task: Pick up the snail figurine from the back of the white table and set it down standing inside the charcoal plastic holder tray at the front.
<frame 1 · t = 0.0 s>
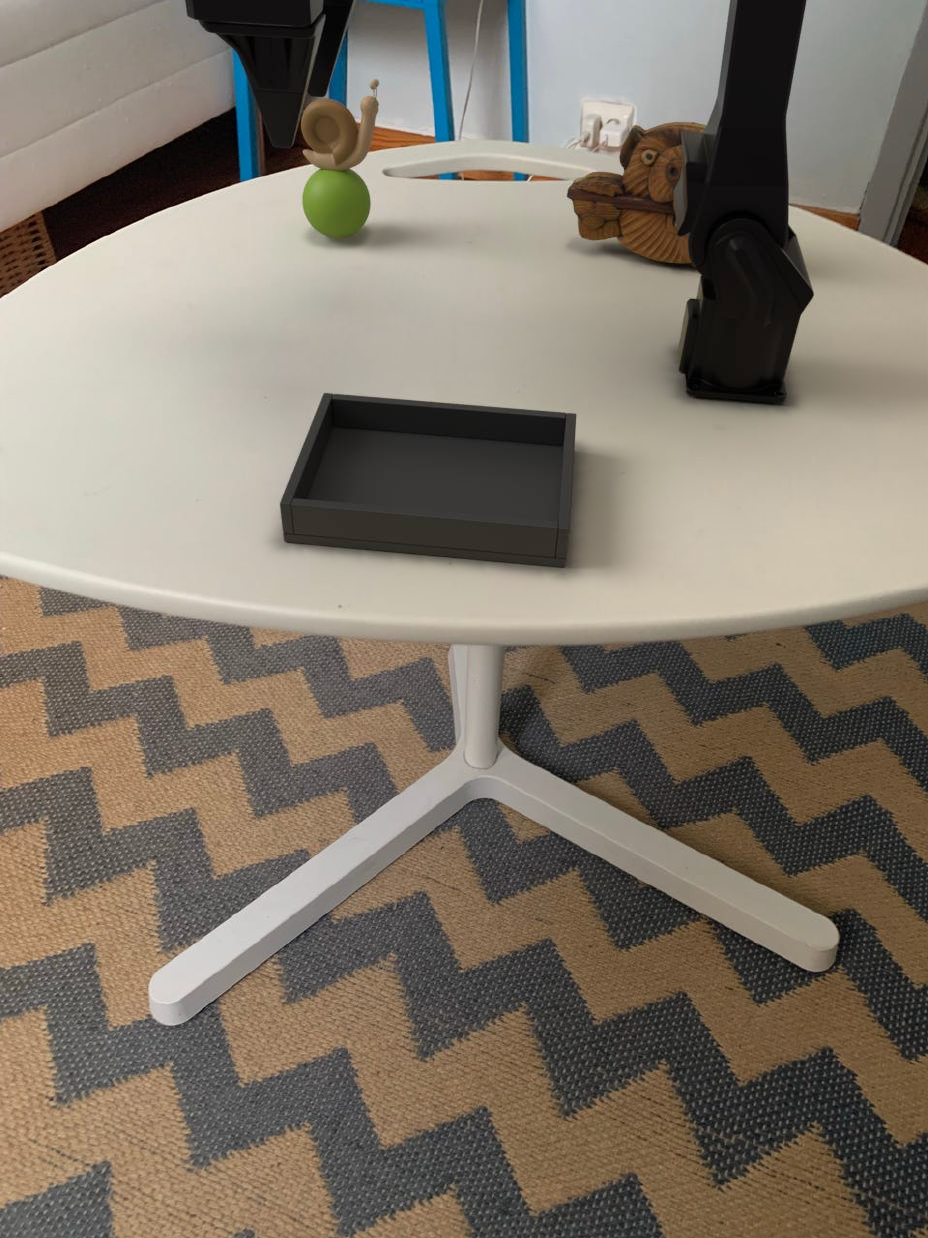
hand: (300, 119, 62), 15 cm above the table, tool pointing down, fingers open, 9 cm apart
wooden carving: (663, 261, 84), on the table
snail figurine: (344, 238, 86), on the table
holder: (436, 493, 60), on the table
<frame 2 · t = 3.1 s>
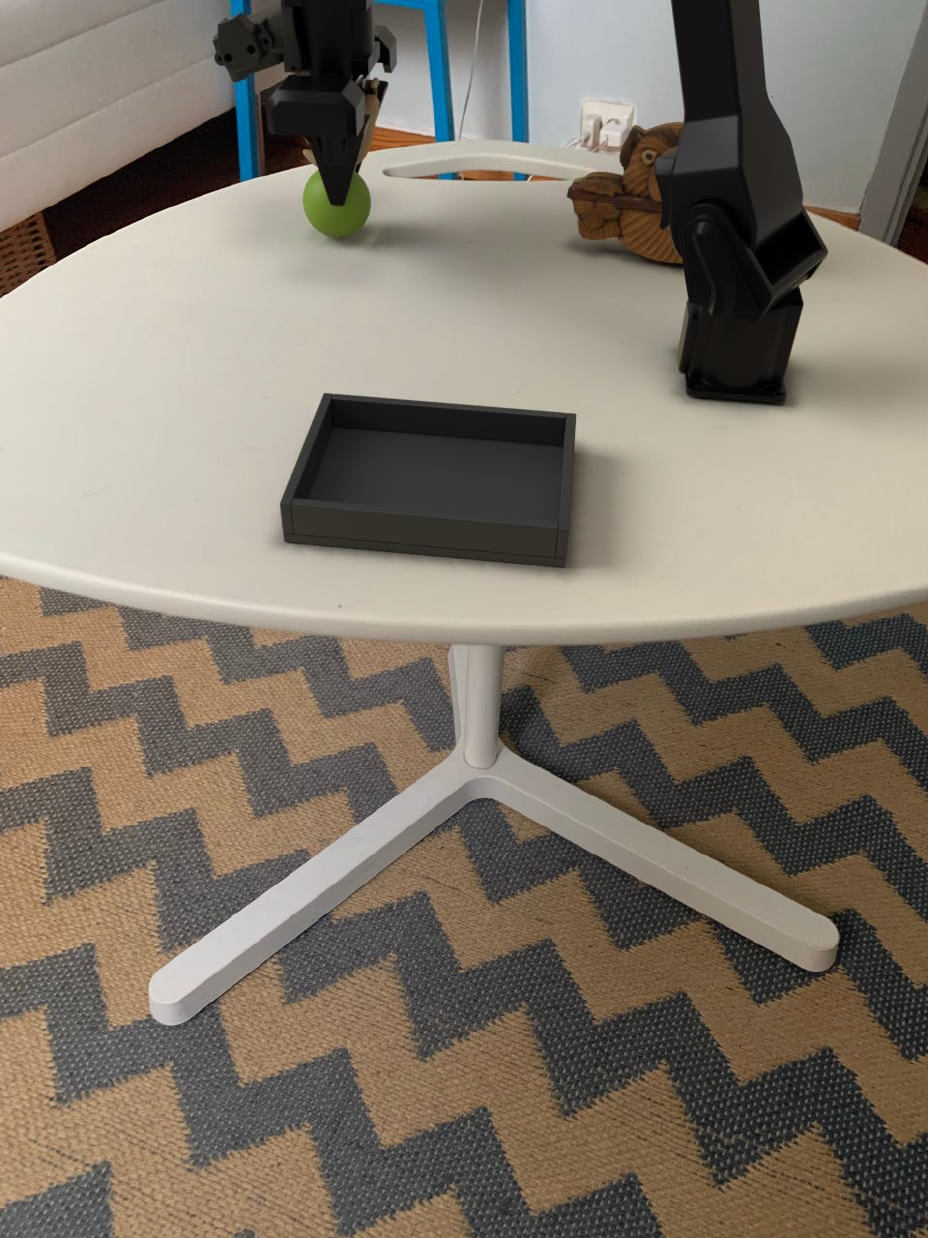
hand: (343, 194, 83), 3 cm above the table, tool pointing down, fingers closed on snail figurine, 4 cm apart
snail figurine: (344, 237, 86), on the table, touching gripper
everything else where it was.
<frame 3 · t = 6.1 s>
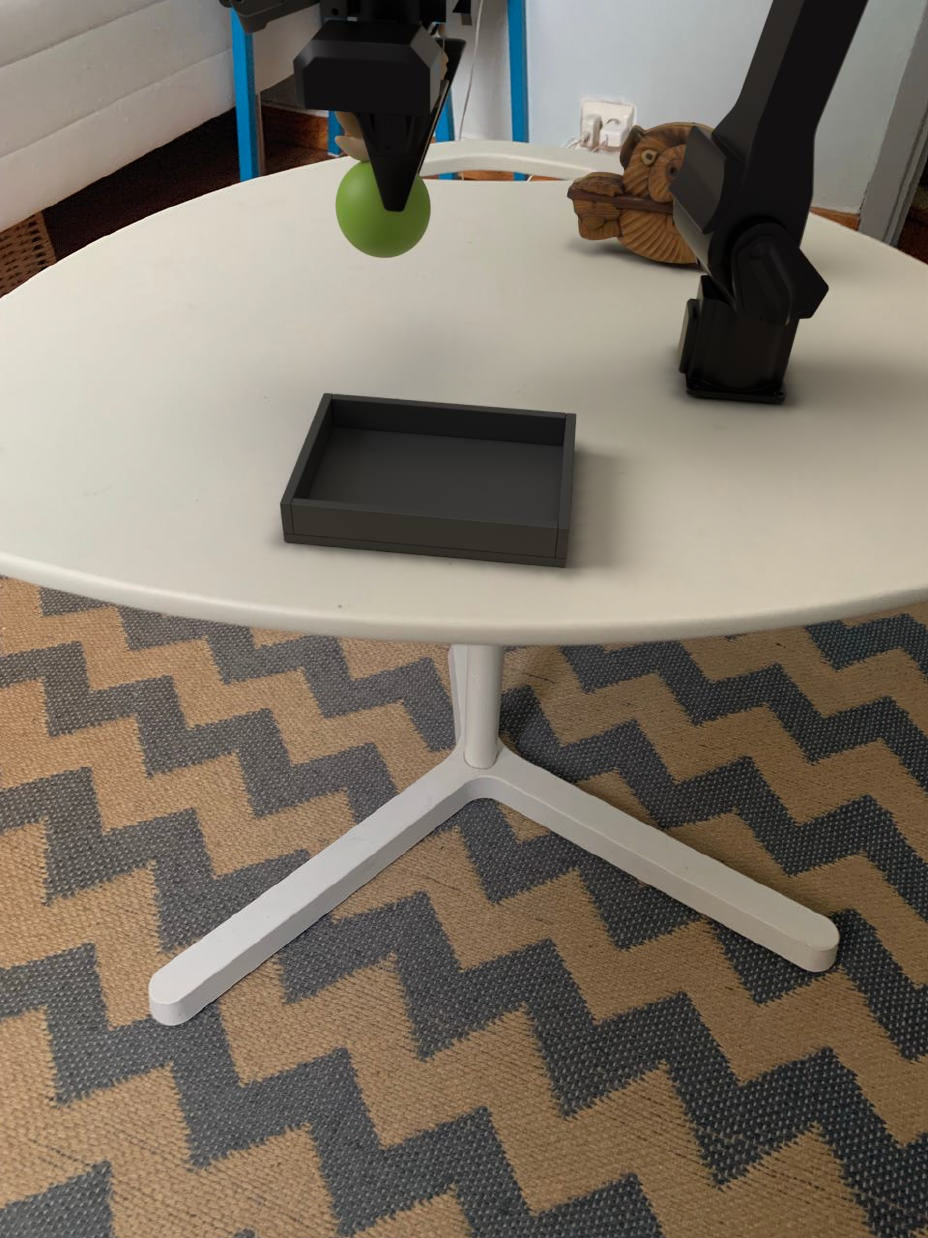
hand: (400, 197, 59), 13 cm above the table, tool pointing down, fingers closed on snail figurine, 3 cm apart
snail figurine: (393, 258, 62), point 9 cm above the table, touching gripper
everything else where it was.
when the fingers open (4 cm above the table, at t = 9.2 s): snail figurine stays where it is, resting on holder.
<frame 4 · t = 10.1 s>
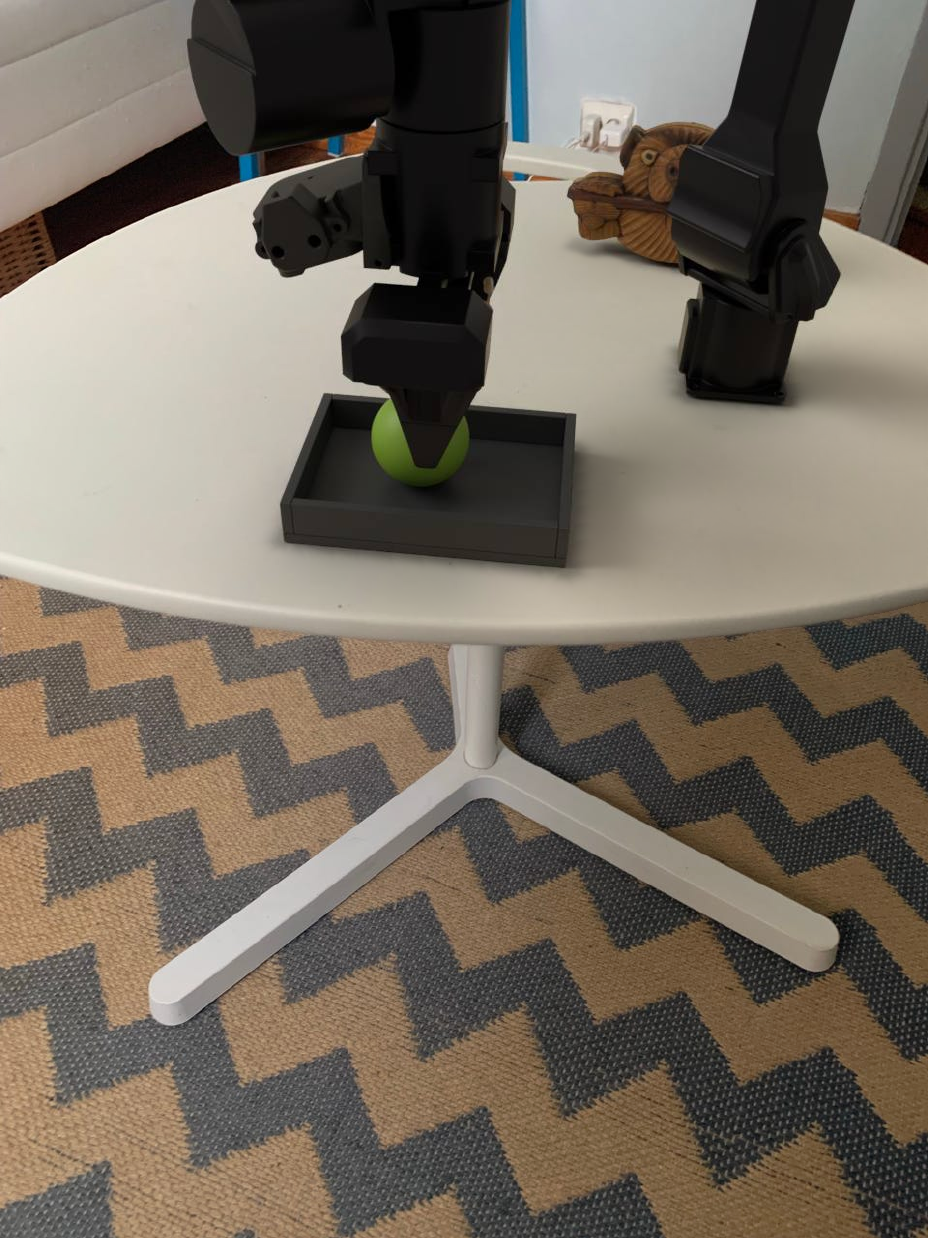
hand: (437, 418, 57), 5 cm above the table, tool pointing down, fingers open, 9 cm apart
snail figurine: (429, 480, 60), resting on holder
everything else where it was.
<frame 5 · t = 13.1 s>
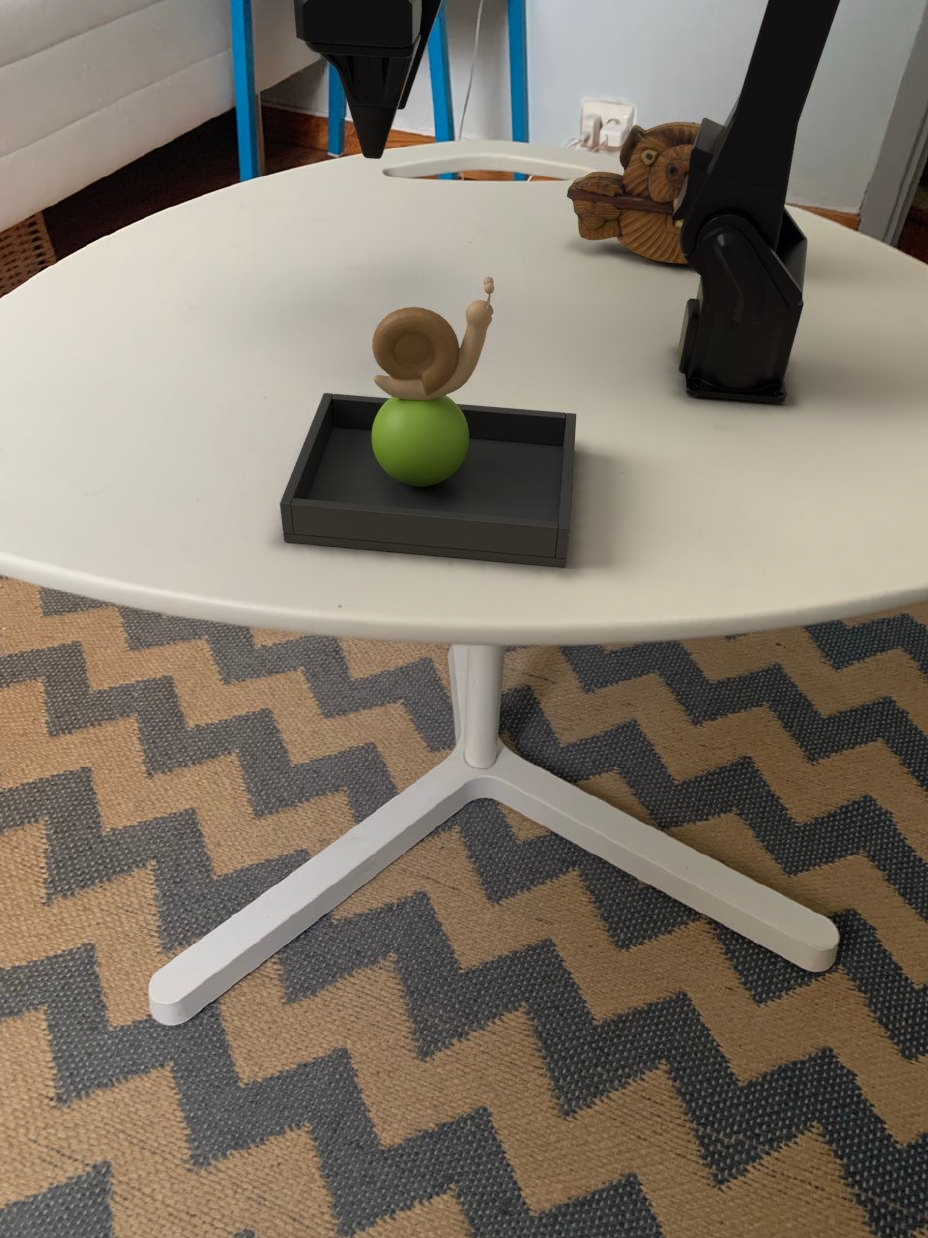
hand: (385, 131, 66), 13 cm above the table, tool pointing down, fingers open, 9 cm apart
nothing on the table moved.
at the end: snail figurine inside the target area in the holder (0.8 cm from its centre), point 0.4 cm above the holder's base; snail figurine tilted 0°; the gripper is holding nothing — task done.
